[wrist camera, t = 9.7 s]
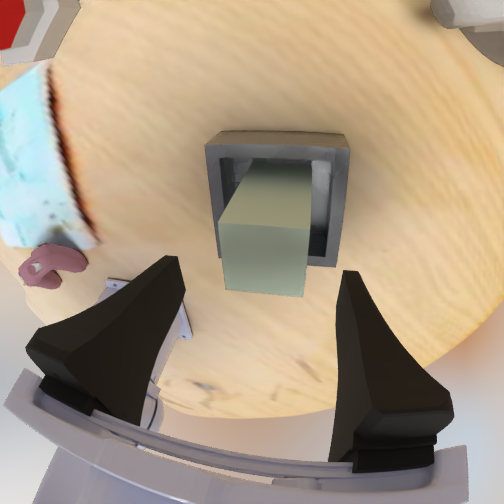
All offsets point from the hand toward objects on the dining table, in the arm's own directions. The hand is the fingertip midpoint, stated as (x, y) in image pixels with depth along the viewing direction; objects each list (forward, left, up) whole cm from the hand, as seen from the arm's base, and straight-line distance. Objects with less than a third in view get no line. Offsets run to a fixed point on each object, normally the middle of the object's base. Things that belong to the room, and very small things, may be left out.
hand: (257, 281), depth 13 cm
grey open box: (0, 0, -10) cm, 10 cm away
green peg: (0, 0, -9) cm, 9 cm away
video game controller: (-27, -9, -10) cm, 30 cm away
